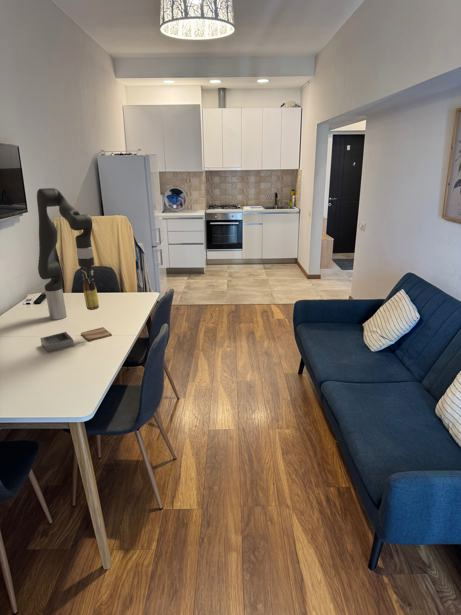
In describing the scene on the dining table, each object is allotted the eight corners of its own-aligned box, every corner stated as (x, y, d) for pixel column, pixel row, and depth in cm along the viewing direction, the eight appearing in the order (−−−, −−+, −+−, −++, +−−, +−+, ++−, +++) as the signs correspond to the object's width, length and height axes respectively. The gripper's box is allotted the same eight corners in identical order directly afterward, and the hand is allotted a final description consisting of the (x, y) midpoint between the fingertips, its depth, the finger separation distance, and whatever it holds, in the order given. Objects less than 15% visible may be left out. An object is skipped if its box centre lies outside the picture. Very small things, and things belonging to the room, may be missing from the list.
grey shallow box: (41, 345, 206) (40, 338, 204) (67, 338, 213) (65, 331, 211) (47, 353, 197) (46, 345, 196) (73, 346, 204) (72, 338, 203)
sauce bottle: (101, 307, 214) (97, 270, 207) (94, 311, 208) (89, 273, 201) (91, 305, 216) (86, 269, 209) (83, 309, 210) (78, 272, 203)
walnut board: (81, 334, 218) (81, 332, 218) (103, 328, 225) (103, 327, 224) (89, 341, 209) (88, 339, 209) (111, 335, 216) (111, 333, 215)
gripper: (73, 254, 206) (77, 287, 212) (82, 259, 195) (87, 293, 201) (88, 252, 210) (92, 284, 216) (98, 257, 199) (102, 290, 205)
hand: (89, 288), depth 208 cm, fingers closed on sauce bottle, 6 cm apart
